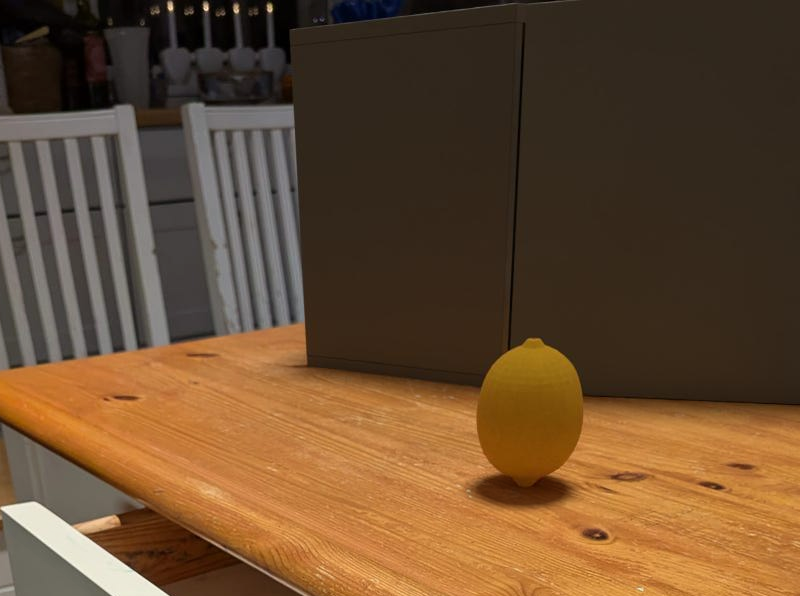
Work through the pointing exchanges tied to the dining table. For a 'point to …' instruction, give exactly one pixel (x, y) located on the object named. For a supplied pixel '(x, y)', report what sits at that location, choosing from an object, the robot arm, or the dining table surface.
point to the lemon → (530, 412)
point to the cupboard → (409, 190)
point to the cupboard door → (662, 196)
